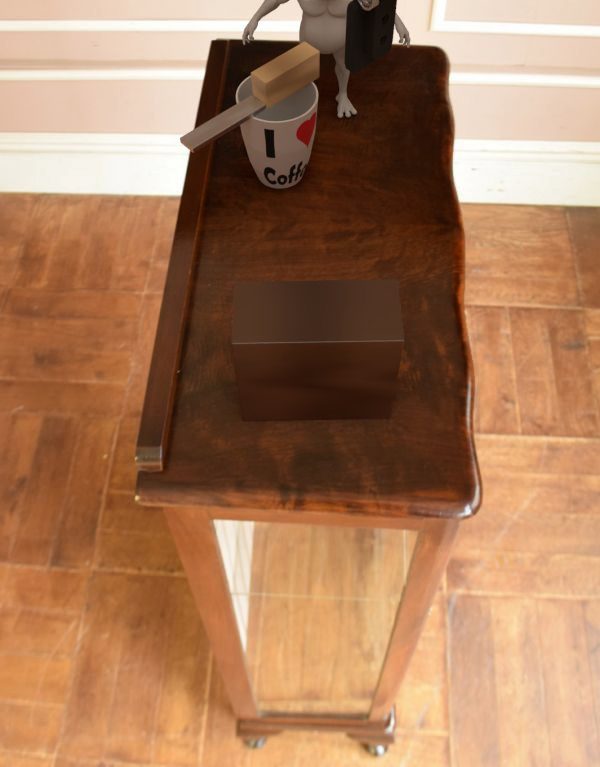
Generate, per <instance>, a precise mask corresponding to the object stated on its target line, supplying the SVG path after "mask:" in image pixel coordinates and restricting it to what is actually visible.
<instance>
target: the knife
mask: <svg viewBox="0 0 600 767" xmlns="http://www.w3.org/2000/svg"><path fill="white" fill-rule="evenodd" d="M320 54H321V53H320V51H319V50H317V49H316V48H314V47H313V46H311V45H310V44H308V43H307V42H303V43H301V44H300V43H299V44H297V45H296V46H294V47H292V48H290V49H289V50H287V51H286V52H284V53H282V54H280V55H279V56H277V57H275V58H273V59H272V60H270V61H268V62H266V63H265V64H263V65H261V66H260V67H258V68H256V69H255V70H253V71H251V72H250V76H251V82H252V95H251V96H249V97H248V98H246V99H244V100H243V101H241V102H239V103H238V104H237V103H236V104H234V105H232V106H231V107H229V108H228V109H226V110H224V111H222V112H220V113H219V114H217V115H215V116H214V117H212V118H211V119H209V120H207V121H205V122H203V123H202V124H200V125H199V126H197V127H196V128H194V129H193V130H191V131H189V132H186V134H183V135H182V136H181V137H179V142H180V144H182V145H183V146H184V147H185V148H186V149H188V150H189V151H190V152H191V153H193V154H195V153H197V152H198V151H200V150H201V149H203V148H205V147H206V146H208V145H210V144H211V143H214V141H217V140H218V139H220V138H222V137H223V136H224V135H226V134H228V133H230V132H231V131H233V130H234V129H236V128H238V127H240V125H241V124H243V123H244V122H246V121H247V120H249V119H251V118H252V117H254V116H256V115H257V114H259V113H261V112H262V111H264V110H266V109H268V108H270V107H272V106H273V105H275V104H277V103H278V102H280V101H282V100H283V99H285V98H287V97H288V96H290V95H291V94H293V93H295V92H296V91H298V90H300V89H301V88H303V87H305V86H306V85H308V84H309V83H311V82H314V81H317V80H318V79H320V64H321V63H320V59H321V57H320V56H321V55H320Z"/></svg>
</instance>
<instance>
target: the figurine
mask: <svg viewBox="0 0 600 767" xmlns="http://www.w3.org/2000/svg"><path fill="white" fill-rule="evenodd" d="M289 1H290V0H263V2H262V4H261V5H260V6H259V8H258V9H257V11H256V12H255V13H254V14H253V16H252V17H251V18H250V20H249V21H248V23H247V25H245V27H244V29H243V34H242V35H241V38H242V45H243V46H245V45H246V43H248V44H250V43H251V41H254V40H255V37H254V33H255V31H256V30H257V29H258V25H259V22H260V21H261V20H262V19H263V18H265V17H266V16H267V15H269V14H270V13H272V12H273V11H275V10H277V9H278V8H279V7H280V5H284V4H286V3H288V2H289ZM296 1H297V4H298V5H299V7H300V9H301V11H302V14H301V21H300V25H299V29H298V35H299V36H298V41H299V44H301V43H303V42H307V43H308V44H310V45H311V46H313V47H314V48H316V49H317V50H319V51H320V54H322V55H330V54H332V56H333V58H334V60H335V66H334V72H335V76H336V77H337V81H338V88H339V91H338V94H336V96H335V101H336V102H337V103H338V104H337V107H336V108H337V109H336V111H337V117H338V119H341V118H343V117H344V115H345V117H346V118H350V117H351V116H353V115H354V116H355V115H357V114H358V111H357V109H356V108H355V107H354V106H353V104H352V102H351V101H350V99H349V98H348V92H347V90H348V83H349V79H350V78H349V77H350V74H351V72H350V71H349V70H347V69H346V68H345V64H344V59H345V38H346V16H347V6H348V4H349V3H350V2H351V1H353V0H296ZM394 29H395V31H396V33H397V34H398V37H399V40H398V44H402V47H405V46H406V48H407V49H409V48H410V46H411V37H410V32H409V30H408V28H407V27H406V25H405V23H404V22H403V20H402V18H401V17H400V15H399V14H398V13H397V12H396V15H395V25H394ZM344 113H345V114H344Z"/></svg>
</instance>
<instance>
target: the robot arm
mask: <svg viewBox="0 0 600 767" xmlns="http://www.w3.org/2000/svg"><path fill="white" fill-rule="evenodd" d="M397 4H398V0H353V1H351V2H350V3H349V4H348V6H347V16H346V38H345V59H344V64H345V68H346V69H347V70H349V71H350V73H352V74H357V73H359V72H360V71H362V70H364V69H366V68H367V67H368V66H370V65H372V64H374V63H375V62H377V61H378V60H379V59H382V58H383V57H384V56H386V55H387V54H389V53H390V51H391V49H392V47H393V42H394V34H395V15H396V13H397V6H398V5H397Z"/></svg>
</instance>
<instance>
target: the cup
mask: <svg viewBox="0 0 600 767" xmlns="http://www.w3.org/2000/svg"><path fill="white" fill-rule="evenodd" d="M318 90H319V89H318V87H317V85H316V84H315V82H314V81H313V82H311V83H309V84H308V85H306V86H305V87H303V88H301V89H300V90H298V91H296V92H295V93H293V94H291V95H290V96H288V97H287V98H285V99H283V100H282V101H280V102H278V103H277V104H275V105H273V106H272V107H270V108H268V109H266V110H264V111H262V112H261V113H259V114H257V115H256V116H254V117H252V118H251V119H249V120H247V121H246V122H244V123H243V124H241V125H239V128H240V132H241V137H242V140H243V143H244V147H245V149H246V153H247V156H248V159H249V162H250V164H251V166H252V168H253V170H254V172H255V174H256V176H257V178H258V180H259V181H260V183H262V184H263V185H264V186H266V187H269V188H271V189H280V190H281V189H288V188H290V187H293V186H295V185H297V184H298V183H299V182H300V181H301V180H302V178H303V177H304V173H305V171H306V168H307V166H308V163H309V161H310V159H311V154H312V149H313V144H314V140H315V135H316V130H317V117H318V105H319V104H318V103H319V91H318ZM251 95H252V82H251V75H249V76H248V77H246V78H245V79H244V80H243V81H241V83H240V84H239V86H238V87H237V89H236V92H235V102H236V104H238V103H239V102H241V101H243V100H244V99H246V98H248V97H249V96H251Z"/></svg>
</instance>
